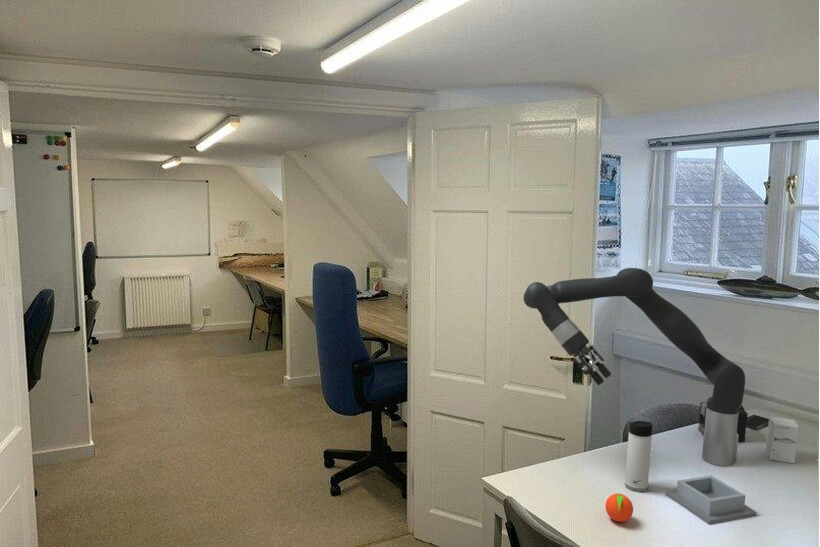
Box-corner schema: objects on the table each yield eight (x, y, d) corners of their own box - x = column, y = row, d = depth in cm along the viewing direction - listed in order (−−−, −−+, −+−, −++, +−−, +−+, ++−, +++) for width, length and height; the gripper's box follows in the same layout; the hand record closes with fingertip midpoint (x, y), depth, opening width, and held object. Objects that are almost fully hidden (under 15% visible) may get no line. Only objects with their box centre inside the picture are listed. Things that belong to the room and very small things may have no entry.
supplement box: (769, 460, 195) (772, 423, 194) (765, 451, 202) (768, 415, 200) (795, 464, 192) (799, 427, 191) (790, 455, 199) (794, 419, 198)
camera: (694, 428, 221) (697, 389, 219) (734, 431, 219) (738, 392, 217) (704, 440, 210) (708, 399, 208) (746, 443, 208) (750, 402, 206)
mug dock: (709, 487, 176) (711, 471, 175) (755, 515, 161) (757, 497, 160) (665, 494, 171) (666, 478, 170) (708, 524, 156) (710, 506, 155)
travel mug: (638, 494, 171) (643, 427, 168) (620, 484, 176) (624, 419, 174) (653, 490, 174) (658, 424, 171) (635, 480, 179) (640, 416, 177)
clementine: (632, 531, 152) (634, 505, 151) (603, 525, 154) (605, 500, 153) (632, 516, 159) (634, 491, 158) (605, 510, 162) (606, 486, 161)
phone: (775, 420, 228) (756, 428, 220) (774, 423, 228) (756, 431, 220) (753, 414, 235) (734, 422, 226) (753, 417, 235) (734, 424, 226)
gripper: (572, 334, 176) (609, 378, 172) (585, 325, 188) (620, 367, 184) (553, 348, 180) (589, 392, 175) (568, 339, 192) (601, 380, 187)
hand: (605, 379), depth 179 cm, fingers open, 8 cm apart
